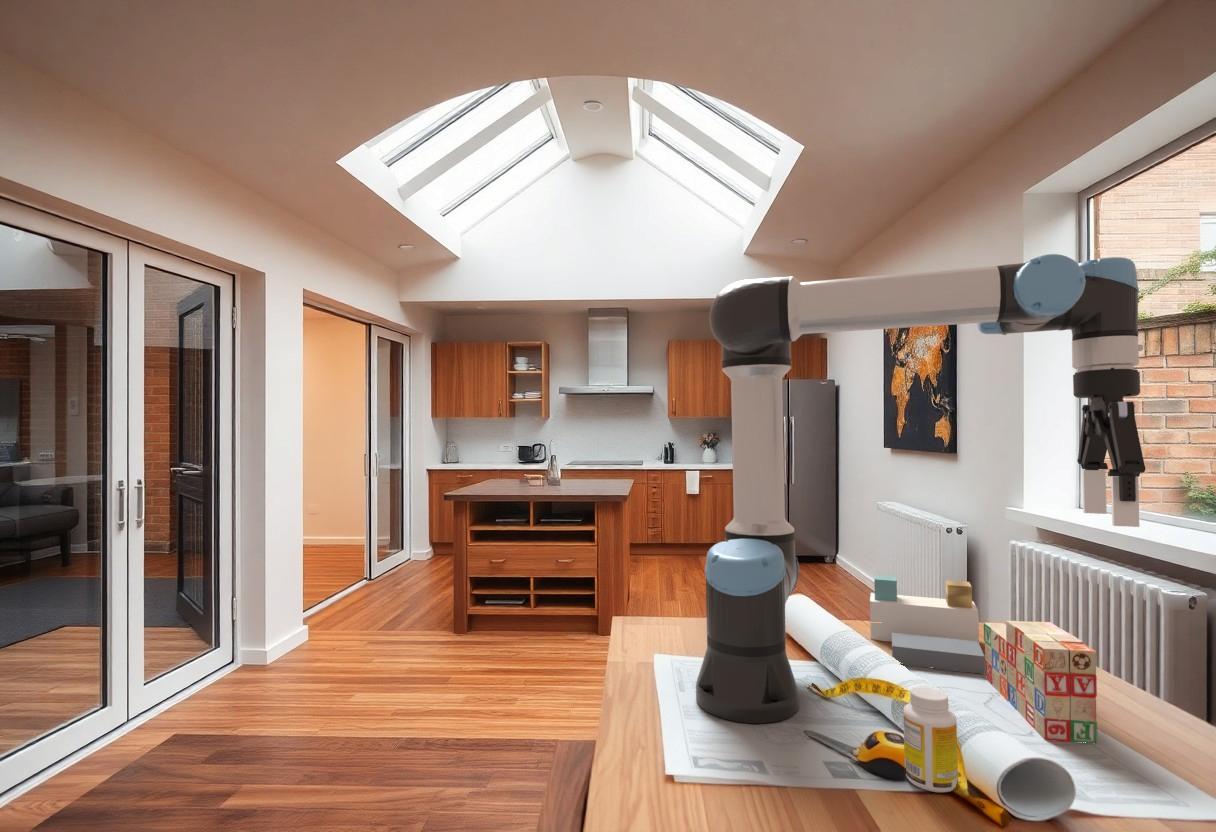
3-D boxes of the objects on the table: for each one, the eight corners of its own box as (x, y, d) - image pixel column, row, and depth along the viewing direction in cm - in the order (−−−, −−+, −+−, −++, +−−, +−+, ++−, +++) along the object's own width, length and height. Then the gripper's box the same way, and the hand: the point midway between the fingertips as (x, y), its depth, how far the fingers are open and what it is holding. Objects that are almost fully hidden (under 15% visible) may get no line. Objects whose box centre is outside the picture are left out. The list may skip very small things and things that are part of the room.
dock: (892, 663, 112) (892, 646, 112) (891, 648, 119) (891, 632, 119) (985, 674, 107) (984, 656, 107) (978, 658, 114) (978, 641, 114)
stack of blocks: (984, 679, 105) (982, 603, 105) (1026, 681, 104) (1025, 605, 104) (1045, 741, 84) (1043, 646, 84) (1099, 745, 83) (1097, 649, 83)
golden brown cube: (947, 606, 121) (947, 584, 121) (946, 600, 125) (945, 580, 125) (972, 608, 120) (971, 586, 120) (969, 602, 123) (969, 581, 123)
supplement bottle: (961, 778, 75) (959, 690, 76) (954, 800, 71) (952, 707, 71) (909, 764, 79) (908, 679, 79) (899, 784, 74) (898, 695, 74)
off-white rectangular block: (870, 640, 125) (870, 601, 125) (871, 629, 131) (870, 592, 132) (979, 652, 118) (978, 610, 118) (974, 640, 124) (973, 601, 124)
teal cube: (874, 599, 126) (874, 579, 126) (874, 594, 130) (874, 574, 130) (897, 601, 125) (896, 580, 125) (896, 596, 128) (896, 576, 128)
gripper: (1175, 359, 79) (1179, 534, 78) (1109, 374, 102) (1113, 509, 101) (1100, 362, 82) (1104, 530, 81) (1053, 376, 104) (1056, 507, 104)
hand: (1109, 519), depth 91 cm, fingers open, 13 cm apart
